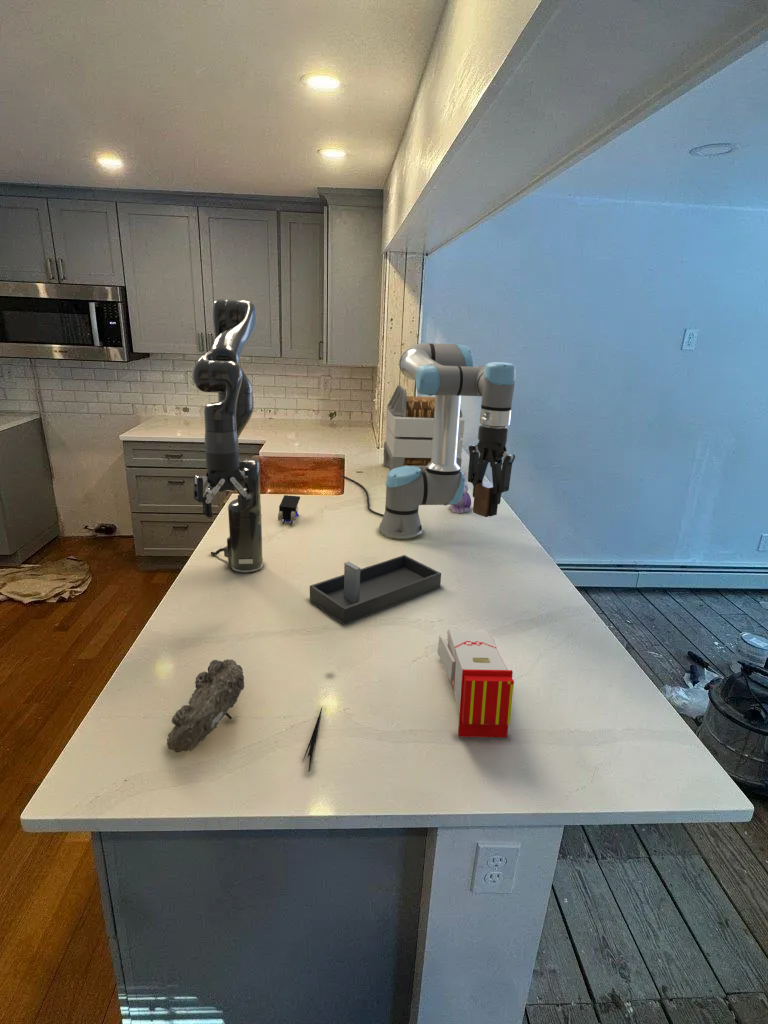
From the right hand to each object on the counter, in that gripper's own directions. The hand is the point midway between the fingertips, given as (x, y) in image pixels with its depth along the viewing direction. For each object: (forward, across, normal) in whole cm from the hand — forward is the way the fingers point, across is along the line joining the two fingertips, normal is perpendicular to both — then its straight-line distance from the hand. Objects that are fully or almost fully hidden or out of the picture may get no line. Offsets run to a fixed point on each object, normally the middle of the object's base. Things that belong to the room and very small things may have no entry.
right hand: (484, 512), depth 151 cm
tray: (+25, -17, -22) cm, 37 cm away
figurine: (+25, -51, +50) cm, 76 cm away
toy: (+25, +28, -34) cm, 51 cm away
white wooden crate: (+25, -99, +74) cm, 126 cm away
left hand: (-1, -33, -58) cm, 67 cm away
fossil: (+25, +3, -80) cm, 83 cm away
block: (0, 0, 0) cm, 0 cm away
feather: (+25, +16, -64) cm, 70 cm away
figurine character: (+25, -79, -12) cm, 84 cm away
